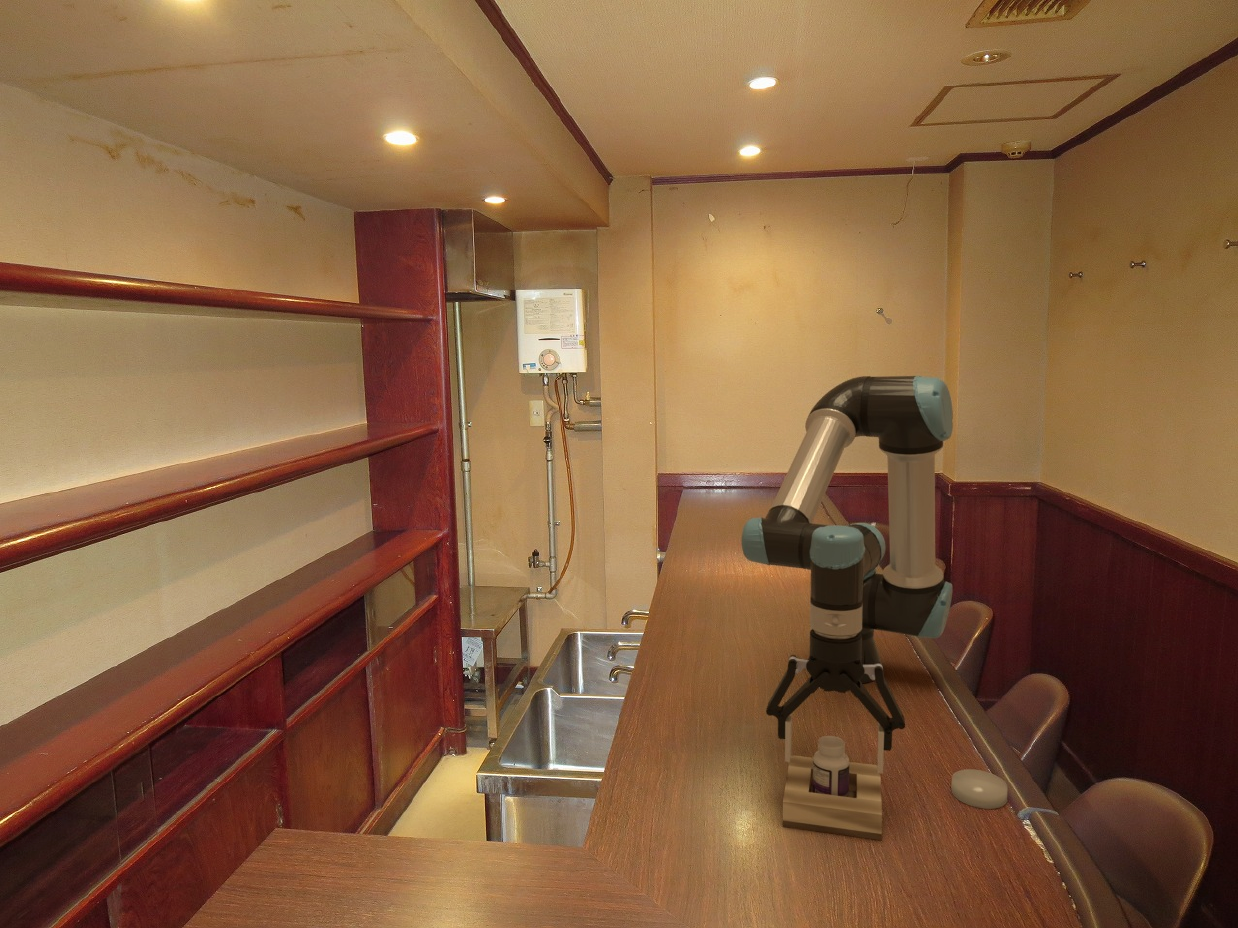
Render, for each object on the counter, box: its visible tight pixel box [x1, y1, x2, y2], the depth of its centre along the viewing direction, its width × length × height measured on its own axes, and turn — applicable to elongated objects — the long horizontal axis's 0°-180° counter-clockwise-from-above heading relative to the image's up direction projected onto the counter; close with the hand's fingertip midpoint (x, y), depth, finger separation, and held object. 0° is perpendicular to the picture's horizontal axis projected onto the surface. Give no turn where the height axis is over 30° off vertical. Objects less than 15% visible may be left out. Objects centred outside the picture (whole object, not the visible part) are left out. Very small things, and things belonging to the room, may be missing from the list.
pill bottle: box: [812, 735, 850, 797], centre depth 125 cm, size 5×5×10 cm
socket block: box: [782, 754, 883, 841], centre depth 126 cm, size 14×14×4 cm
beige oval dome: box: [950, 768, 1008, 810], centre depth 128 cm, size 8×8×2 cm
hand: (833, 763), depth 125 cm, fingers open, 13 cm apart
